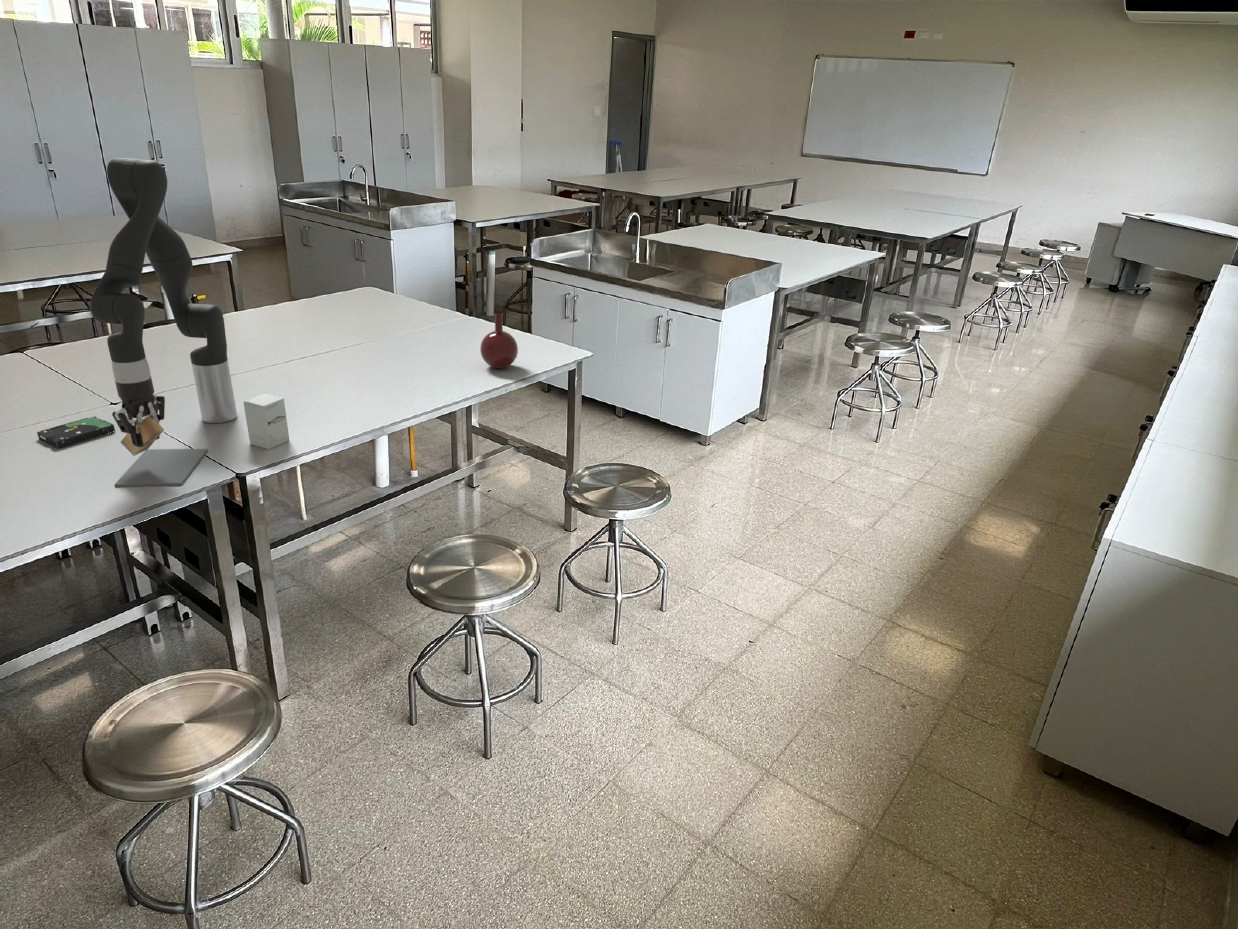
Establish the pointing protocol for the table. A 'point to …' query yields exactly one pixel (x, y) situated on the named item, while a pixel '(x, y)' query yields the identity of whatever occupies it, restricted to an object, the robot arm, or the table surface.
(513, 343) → the round-bottom flask
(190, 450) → the rubber mat
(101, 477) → the table surface
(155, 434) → the oak block
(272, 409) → the supplement box
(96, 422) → the disk drive
